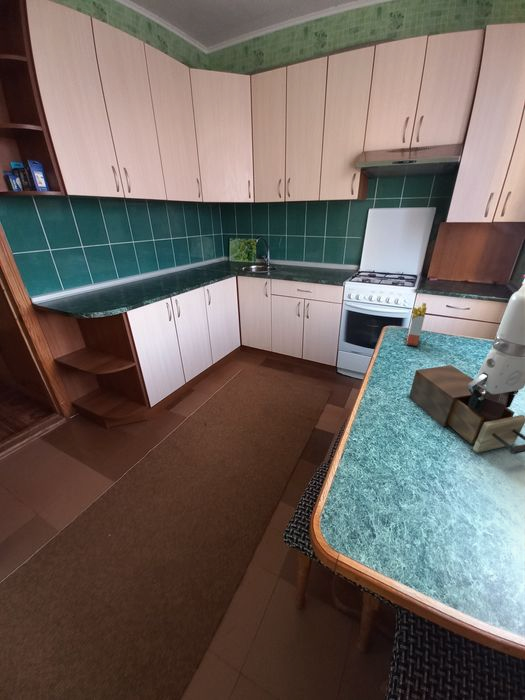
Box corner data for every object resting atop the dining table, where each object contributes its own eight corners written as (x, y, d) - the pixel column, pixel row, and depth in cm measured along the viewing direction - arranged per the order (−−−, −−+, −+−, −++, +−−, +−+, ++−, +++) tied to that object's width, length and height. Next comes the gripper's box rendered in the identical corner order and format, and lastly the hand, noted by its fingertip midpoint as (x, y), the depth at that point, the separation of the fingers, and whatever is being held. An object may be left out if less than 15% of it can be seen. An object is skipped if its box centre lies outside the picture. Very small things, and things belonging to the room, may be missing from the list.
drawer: (538, 462, 69) (554, 434, 65) (498, 472, 67) (513, 443, 63) (469, 411, 86) (479, 387, 82) (436, 417, 84) (444, 392, 80)
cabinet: (480, 421, 83) (493, 391, 79) (442, 428, 81) (453, 397, 76) (441, 392, 96) (450, 364, 91) (408, 398, 94) (415, 369, 89)
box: (496, 428, 72) (506, 405, 68) (467, 418, 75) (476, 395, 72) (499, 416, 76) (509, 393, 72) (472, 407, 79) (481, 384, 76)
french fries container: (404, 347, 126) (413, 307, 117) (406, 337, 134) (414, 300, 126) (416, 349, 124) (426, 309, 116) (417, 339, 132) (426, 301, 124)
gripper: (497, 358, 61) (472, 422, 69) (562, 348, 64) (530, 410, 72) (467, 343, 67) (447, 403, 75) (527, 335, 71) (502, 393, 79)
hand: (488, 406), depth 74 cm, fingers closed on box, 8 cm apart
